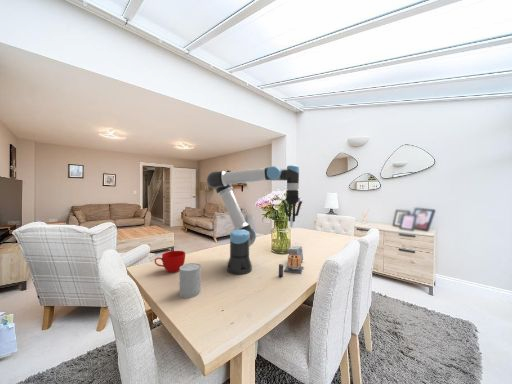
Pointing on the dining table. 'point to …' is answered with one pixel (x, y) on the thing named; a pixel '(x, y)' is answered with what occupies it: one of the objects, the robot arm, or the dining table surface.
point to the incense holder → (296, 251)
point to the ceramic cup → (172, 260)
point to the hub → (294, 269)
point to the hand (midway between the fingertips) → (291, 226)
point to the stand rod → (280, 270)
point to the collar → (294, 260)
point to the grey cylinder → (190, 280)
